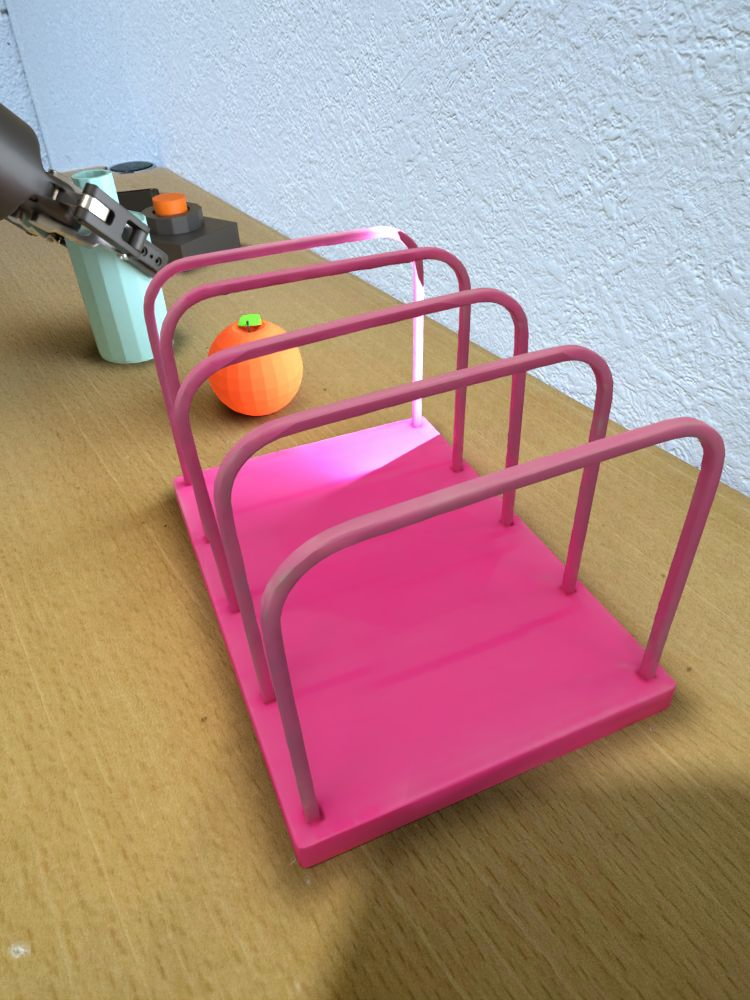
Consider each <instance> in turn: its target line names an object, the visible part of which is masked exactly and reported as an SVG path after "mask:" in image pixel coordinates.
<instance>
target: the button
mask: <svg viewBox="0 0 750 1000" xmlns="http://www.w3.org/2000/svg"><path fill="white" fill-rule="evenodd" d="M159 194H160V195H157V196H155V197H153V198H152V201H153V206H154V210H155V215H160V216H168V215H176V214H181V213H184V212H187V211H188V208H187V203H186V202H187V199H186V195H185V194H184V193H181V192H166V193H159Z"/></svg>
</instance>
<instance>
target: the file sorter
mask: <svg viewBox="0 0 750 1000" xmlns="http://www.w3.org/2000/svg"><path fill="white" fill-rule="evenodd" d="M374 239H391V240H395V241H398V242H400V243H401V244H402V245H403V246H404V247H405V248H404V249H400V250H399V249H398V250H391V251H386V252H381V253H376V254H369V255H363V256H356V257H350V258H344V259H337V260H331V261H325V262H320V263H313V264H308V265H303V266H297V267H290V268H285V269H284V268H283V269H279V270H273V271H267V272H261V273H256V274H251V275H246V276H240V277H235V278H234V277H233V278H228V279H223V280H220V281H218V280H217V281H214V282H209V283H204V284H201V285H199V286H196V287H193V288H192V289H189V290H188V291H187V292H185V293H184V294H182V295H181V296H180V297H179V298H177V300H175V302H174V303H172V305H171V306H170V308H169V309H167V314H166V316H165V318H164V320H163V323H162V327H161V331H160V338H159V333H158V328H157V323H156V318H155V300H156V298H157V296H158V294H159V291H160V289H161V287H163V286H164V285H165V284H166V283H167V282H168V281H169V280H170V279H171V278H173V277H174V276H176V275H178V274H179V273H182V272H183V271H186V270H190V269H192V270H195V269H198V268H204V267H210V266H215V265H221V264H227V263H233V262H239V261H245V260H250V259H251V260H252V259H256V258H263V257H269V256H274V255H278V254H283V253H284V254H285V253H290V252H291V253H292V252H297V251H304V250H308V249H313V248H314V249H315V248H319V247H330V246H336V245H342V244H346V243H356V242H362V241H368V240H374ZM424 260H425V261H426V260H432V261H438V262H442V263H444V264H446V265H447V266H449V268H450V269H451V270H452V271H453V272H454V275H455V277H456V279H457V284H458V291H456V292H452V293H447V294H442V295H437V296H433V297H428V298H425V273H424V272H425V270H424ZM410 263H411V264H412V276H413V278H412V279H413V280H412V282H413V283H412V284H413V285H412V287H413V288H412V290H413V291H412V292H413V293H412V294H413V295H412V296H413V301H411V302H407V303H403V304H398V305H395V306H389V307H386V308H381V309H378V310H373V311H368V312H364V313H359V314H356V315H355V314H354V315H351V316H347V317H343V318H340V319H336V320H332V321H327V322H323V323H319V324H316V325H312V326H311V325H310V326H307V327H304V328H299V329H294V330H291V331H286V333H283V334H279V335H275V336H271V337H267V338H263V339H259V340H255V341H252V342H248V343H244V344H241V345H237V346H233V347H230V348H226V349H224V350H221V351H218V352H216V353H214V354H212V355H210V356H209V357H207V356H206V357H205V358H203V360H201V361H200V362H198V363H197V364H195V366H194V367H193V368H192V369H191V370H190V371H189V373H187V375H186V376H185V377H184V379H183V380H182V382H181V381H180V378H179V371H178V367H177V363H176V358H175V352H174V343H173V342H174V334H175V330H176V327H177V325H178V323H179V321H180V319H181V318H182V317H183V315H184V314H185V313H186V312H187V311H188V310H189V309H191V308H192V307H193V306H195V305H197V304H199V303H200V302H203V301H206V300H208V299H212V298H216V297H220V296H227V295H230V294H236V293H237V294H238V293H241V292H247V291H252V290H258V289H263V288H268V287H269V288H270V287H273V286H280V285H285V284H291V283H296V282H302V281H306V280H307V281H308V280H313V279H319V278H324V277H332V276H333V277H334V276H339V275H344V274H348V273H349V274H350V273H352V272H357V271H367V270H374V269H378V268H383V267H388V266H396V265H402V264H403V265H404V264H410ZM194 268H195V269H194ZM190 271H191V270H190ZM478 303H479V304H482V303H484V304H485V303H490V304H491V303H492V304H497V305H498V306H501V307H503V308H504V309H505V310H506V311H507V312H508V313H509V315H510V317H511V319H512V323H513V332H514V333H513V336H514V337H513V342H514V343H513V352H512V353H513V355H512V356H509V357H506V358H502V359H498V360H494V361H490V362H485V363H482V364H478V365H473V366H470V367H469V357H470V356H469V353H470V337H471V318H472V317H471V316H472V314H471V313H472V305H475V304H478ZM453 309H459V310H458V329H457V350H456V351H457V352H456V369H455V370H454V371H450V372H446V373H442V374H438V375H434V376H430V377H427V378H426V377H425V378H423V355H424V353H423V352H424V316H427V315H431V314H435V313H440V312H444V311H448V310H453ZM143 310H144V318H145V323H146V328H147V332H148V337H149V342H150V346H151V350H152V354H153V358H154V359H153V362H154V366H155V370H156V374H157V378H158V382H159V385H160V386H159V387H160V390H161V394H162V398H163V402H164V406H165V410H166V414H167V418H168V422H169V427H170V430H171V434H172V438H173V442H174V447H175V450H176V454H177V457H178V461H179V462H178V463H179V466H180V469H181V474H182V475H178V476H176V477H173V479H172V485H173V490H174V495H175V498H176V502H177V506H178V508H179V511H180V514H181V516H182V520H183V523H184V525H185V529H186V531H187V535H188V539H189V540H190V544H191V546H192V550H193V553H194V555H195V560H196V562H197V564H198V567H199V569H200V574H201V577H202V580H203V584H204V585H205V588H206V592H207V595H208V597H209V601H210V604H211V606H212V607H211V608H212V609H213V613H214V616H215V619H216V621H217V625H218V627H219V631H220V633H221V637H222V639H223V640H222V641H223V642H224V646H225V650H226V651H227V654H228V658H229V661H230V663H231V666H232V670H233V673H234V675H235V678H236V682H237V685H238V688H239V690H240V693H241V696H242V699H243V702H244V705H245V709H246V711H247V714H248V716H249V720H250V723H251V727H252V729H253V732H254V735H255V738H256V741H257V744H258V747H259V750H260V753H261V756H262V760H263V762H264V766H265V768H266V771H267V774H268V777H269V780H270V782H271V783H270V784H271V786H272V789H273V792H274V794H275V798H276V800H277V803H278V807H279V809H280V812H281V813H280V814H281V815H282V819H283V821H284V824H285V825H284V826H285V828H286V830H287V834H288V836H289V839H290V842H291V846H292V849H293V852H294V855H295V859H296V861H297V863H298V865H299V866H300V867H301V868H304V869H308V868H311V867H314V866H315V865H318V864H320V863H323V862H325V861H327V860H329V859H332V858H334V857H336V856H339V855H341V854H343V853H345V852H348V851H350V850H352V849H354V848H357V847H358V846H361V845H363V844H365V843H368V842H370V841H372V840H375V839H377V838H379V837H382V836H383V835H386V834H388V833H390V832H393V831H395V830H397V829H399V828H402V827H404V826H406V825H409V824H411V823H413V822H415V821H417V820H420V819H422V818H424V817H427V816H428V815H431V814H433V813H436V812H438V811H440V810H442V809H444V808H447V807H449V806H452V805H453V804H455V803H458V802H460V801H462V800H465V799H467V798H469V797H472V796H474V795H476V794H478V793H481V792H483V791H485V790H487V789H489V788H492V787H494V786H496V785H498V784H501V783H503V782H506V781H508V780H510V779H512V778H515V777H517V776H519V775H522V774H524V773H526V772H528V771H530V770H533V769H535V768H538V767H540V766H542V765H545V764H546V763H549V762H551V761H554V760H556V759H559V758H560V757H563V756H565V755H567V754H570V753H572V752H574V751H576V750H578V749H581V748H584V747H585V746H588V745H590V744H593V743H595V742H596V741H599V740H601V739H603V738H605V737H607V736H610V735H612V734H614V733H617V732H618V731H621V730H624V729H625V728H628V727H630V726H632V725H635V724H636V723H639V722H641V721H643V720H645V719H648V718H650V717H652V716H654V715H657V714H659V713H662V712H663V711H666V710H668V709H669V707H670V706H671V703H672V700H673V697H674V695H675V691H676V688H677V683H676V680H675V679H674V678H673V677H672V676H671V675H670V674H669V673H668V672H667V671H666V670H665V669H664V668H663V667H662V666H661V664H659V663H660V662H661V661H660V660H661V658H662V654H663V651H664V648H665V646H666V642H667V640H668V637H669V633H670V631H671V628H672V624H673V622H674V619H675V616H676V613H677V610H678V607H679V604H680V601H681V598H682V596H683V593H684V590H685V587H686V584H687V581H688V577H689V574H690V571H691V568H692V565H693V562H694V560H695V556H696V553H697V551H698V547H699V544H700V541H701V539H702V536H703V533H704V530H705V527H706V524H707V521H708V517H709V515H710V512H711V509H712V506H713V503H714V500H715V497H716V495H717V491H718V487H719V484H720V481H721V478H722V474H723V470H724V466H725V465H724V463H725V458H726V446H725V441H724V439H723V437H722V435H721V434H720V433H719V432H718V431H717V430H716V429H715V428H714V427H713V426H711V425H709V424H708V423H707V422H705V421H703V420H700V419H698V418H695V417H691V416H680V417H674V418H668V419H667V418H666V419H663V420H660V421H659V420H658V421H656V422H653V423H649V424H645V425H643V426H639V427H637V428H632V429H630V430H626V431H623V432H619V433H616V434H613V435H609V436H607V431H608V426H609V421H610V415H611V410H612V405H613V400H614V399H613V398H614V385H615V383H614V378H613V373H612V371H611V369H610V366H609V365H608V363H607V361H606V359H604V358H603V357H602V356H601V355H600V354H598V353H597V352H596V351H594V350H592V349H590V348H588V347H586V346H583V345H578V344H563V345H558V346H552V347H546V348H542V349H538V350H534V351H530V352H529V339H530V333H529V322H528V317H527V315H526V312H525V310H524V309H523V307H522V305H521V304H520V303H519V302H518V300H516V299H515V298H513V297H512V296H511V295H509V294H508V293H507V292H504V291H503V290H499V288H493V287H476V288H472V285H471V279H470V276H469V272H468V270H467V268H466V267H465V265H464V263H463V262H462V261H461V260H460V259H459V258H458V257H457V256H456V255H454V254H453V253H451V252H449V251H448V250H446V249H443V248H440V247H437V246H421V247H419V246H418V244H417V243H416V242H415V240H414V239H413V238H412V237H410V235H408V234H407V233H406V232H404V231H402V230H400V229H398V228H396V227H394V226H393V227H392V226H387V225H379V226H371V227H364V228H363V227H362V228H356V229H355V228H354V229H349V230H343V231H336V232H329V233H323V234H316V235H309V236H304V237H298V238H291V239H285V240H278V241H272V242H266V243H260V244H253V245H248V246H241V248H235V249H229V250H223V251H217V252H211V253H206V254H200V255H195V256H189V257H185V258H181V259H178V260H175V261H173V262H171V263H169V264H167V265H166V266H165V267H163V268H162V269H161V270H160V271H158V272H157V274H156V275H155V276H154V277H153V279H152V280H151V282H150V284H149V285H148V287H147V290H146V292H145V296H144V304H143ZM410 319H413V320H412V381H410V382H407V383H404V384H403V383H402V384H399V385H395V386H391V387H387V388H383V389H380V390H376V391H372V392H369V393H364V394H361V395H356V396H353V397H349V398H346V399H342V400H339V401H335V402H331V403H327V404H323V405H320V406H316V407H312V408H309V409H305V410H301V411H298V412H294V413H291V414H287V415H285V416H281V417H277V418H273V419H271V420H268V421H267V422H263V423H261V424H260V425H258V426H257V427H255V428H253V429H252V430H250V431H249V432H247V433H246V434H244V435H243V436H242V437H241V438H240V439H239V440H238V441H237V442H236V443H235V444H234V445H232V447H231V448H230V449H229V450H228V452H227V453H226V454H225V456H224V457H223V459H222V461H220V464H219V465H218V466H214V467H210V468H206V469H202V465H201V462H200V458H199V455H198V451H197V445H196V443H195V439H194V435H193V431H192V426H191V419H190V411H191V404H192V403H193V399H194V397H195V395H196V394H197V392H198V390H199V389H200V387H201V386H202V385H203V384H204V383H205V382H206V381H207V380H208V378H209V377H210V376H211V375H213V374H214V373H215V372H217V371H218V370H220V369H223V368H225V367H227V366H230V365H233V364H237V363H240V362H243V361H247V360H250V359H254V358H258V357H262V356H266V355H269V354H273V353H277V352H281V351H284V350H288V349H292V348H296V347H298V348H300V347H304V346H306V345H310V344H315V343H319V342H322V341H326V340H330V339H334V338H337V337H338V338H339V337H342V336H346V335H350V334H352V333H353V334H354V333H357V332H361V331H365V330H368V329H373V328H377V327H382V326H385V325H386V326H387V325H392V324H394V323H395V324H396V323H399V322H402V321H407V320H410ZM571 361H574V362H581V363H584V364H586V365H588V366H589V367H590V368H591V371H592V372H593V375H594V377H595V385H596V386H595V387H596V390H595V399H594V406H593V413H592V419H591V423H590V429H589V434H588V435H589V436H588V442H587V443H583V444H580V445H577V446H574V447H573V446H572V447H570V448H568V449H564V450H560V451H558V452H557V451H556V452H554V453H551V454H547V455H544V456H542V457H538V458H535V459H531V460H529V461H526V462H523V463H519V459H520V447H521V437H522V436H521V435H522V425H523V416H524V415H523V414H524V406H525V405H524V404H525V392H526V380H527V372H530V371H532V370H537V369H539V368H543V367H549V366H552V365H553V366H554V365H557V364H560V363H565V362H571ZM510 376H511V386H510V387H511V388H510V389H511V390H510V400H509V401H510V403H509V419H508V420H509V421H508V431H507V444H506V453H505V454H506V455H505V466H504V468H502V469H501V470H500V469H499V470H497V471H493V472H491V473H487V474H484V475H482V476H481V475H480V474H479V473H478V472H477V471H476V470H475V469H474V468H473V467H472V466H471V465H470V464H469V463H468V461H466V459H465V458H464V454H463V453H464V441H465V422H466V407H467V406H466V405H467V391H468V389H467V388H468V387H470V386H474V385H477V384H482V383H486V382H490V381H494V380H497V379H500V378H505V377H510ZM451 391H455V393H454V415H453V430H452V431H453V432H452V445H451V444H450V443H449V442H448V440H447V439H446V438H445V437H444V436H443V435H442V434H441V433H440V432H439V431H438V430H437V429H436V428H435V427H434V426H433V425H432V424H431V423H430V422H429V421H428V419H427V418H426V417H425V416H422V399H425V398H430V397H434V396H437V395H440V394H444V393H447V392H451ZM410 402H411V410H412V411H411V417H410V418H406V419H402V420H397V421H393V422H389V423H385V424H381V425H377V426H373V427H370V428H365V429H361V430H357V431H353V432H349V433H346V434H345V433H344V434H342V435H337V436H333V437H328V438H326V439H322V440H321V439H320V440H317V441H314V442H309V443H306V444H300V445H298V446H293V447H289V448H284V449H281V450H277V451H273V452H269V453H266V454H262V455H261V454H260V455H257V456H254V455H255V454H256V453H257V452H259V451H260V450H261V449H263V448H264V447H266V446H267V445H270V444H272V443H274V442H276V441H278V440H279V439H282V438H286V437H290V436H293V435H295V434H299V433H302V432H306V431H310V430H312V429H316V428H320V427H324V426H327V425H330V424H334V423H338V422H342V421H346V420H349V419H353V418H357V417H360V416H364V415H367V414H371V413H374V412H377V411H381V410H384V409H388V408H393V407H396V406H400V405H404V404H407V403H410ZM606 436H607V437H606ZM684 438H695V439H696V438H697V440H698V442H699V443H700V445H701V448H702V458H701V462H700V471H699V473H698V476H697V479H696V484H695V486H694V490H693V493H692V497H691V499H690V503H689V506H688V509H687V513H686V516H685V519H684V523H683V526H682V529H681V532H680V535H679V538H678V541H677V545H676V548H675V551H674V555H673V557H672V560H671V562H670V566H669V570H668V573H667V576H666V579H665V583H664V586H663V589H662V592H661V595H660V599H659V602H658V605H657V609H656V612H655V614H654V618H653V623H652V626H651V629H650V632H649V633H650V634H649V637H648V640H647V643H646V646H645V648H644V647H643V646H642V645H641V644H640V643H639V642H638V641H637V640H636V639H635V637H634V636H633V635H632V634H631V633H630V632H629V631H628V629H626V628H625V627H624V626H623V625H622V623H620V622H619V620H618V619H617V618H616V617H615V616H614V615H613V614H612V613H611V612H610V611H609V610H608V609H607V608H606V607H605V606H604V605H603V604H602V603H601V602H600V601H599V600H598V599H597V598H596V596H594V595H593V594H592V593H591V591H590V590H589V589H588V588H587V587H586V586H585V585H584V584H583V583H582V582H581V581H580V580H579V579H578V576H579V571H580V567H581V562H582V556H583V551H584V547H585V543H586V537H587V533H588V527H589V522H590V517H591V512H592V508H593V507H592V506H593V502H594V497H595V493H596V486H597V483H598V476H599V473H600V467H601V463H603V462H606V461H609V460H612V459H615V458H618V457H622V456H624V455H625V456H626V455H627V454H631V453H634V452H637V451H640V450H644V449H647V448H649V447H650V448H651V447H653V446H656V445H659V444H663V443H667V442H670V441H673V440H678V439H684ZM581 469H582V474H581V480H580V485H579V488H578V489H579V490H578V496H577V501H576V507H575V512H574V518H573V524H572V529H571V532H570V533H571V534H570V537H569V538H570V539H569V544H568V549H567V556H566V560H565V564H564V563H563V562H562V561H561V560H560V558H558V557H557V556H556V555H555V553H554V552H553V551H552V550H551V549H550V548H549V547H548V546H547V545H546V544H545V543H544V542H543V541H542V540H541V539H540V537H539V536H537V535H536V534H535V533H534V531H532V529H531V528H530V527H529V526H528V525H527V524H526V523H525V522H524V521H523V520H522V518H521V517H519V516H518V514H517V513H516V512H515V511H514V510H515V502H516V492H517V490H519V489H522V488H525V487H529V486H531V485H534V484H538V483H541V482H544V481H547V480H550V479H553V478H556V477H559V476H563V475H566V474H568V473H571V472H575V471H578V470H581ZM500 495H502V498H501V496H500Z"/></svg>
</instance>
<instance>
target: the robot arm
mask: <svg viewBox="0 0 750 1000" xmlns="http://www.w3.org/2000/svg"><path fill="white" fill-rule="evenodd" d="M3 220H5V221H7V222H9V224H12V225H13V226H15V227H17V228H18V229H20V230H22V231H23V232H25V233H26V235H29V236H30V237H31V236H32V237H40V238H42V239H44V240H46V241H47V242H49V243H51V244H56V245H57V244H59V245H61V246H62V247H64V248H66V249H67V246H66V242H65V239H64V237H66V238H68V239H70V240H72V241H74V242H76V243H78V244H80V245H82V246H83V247H85V248H88V249H92V248H94V247H96V246H98V247H100V248H102V249H104V250H106V251H108V252H110V253H112V254H114V255H116V257H117V258H119V259H122V260H125V261H126V262H128V263H129V264H131V265H132V266H134V267H135V268H137V269H138V270H140V271H141V272H143V273H144V274H146V275H147V276H149V277H150V278H153V277H154V276H155V275H156V274H157V272H158V271H160V270H161V269H162V268H163V267H165V266H166V265H167V262H168V256H167V254H166V253H165V252H163V251H162V250H161V249H159V248H158V247H156V246H155V245H154V244H152V243H151V242H150V241H148V240H147V236H148V234H149V231H150V228H149V227H148V226H147V225H146V224H145V223H143V222H142V221H141V220H139V219H138V218H137V217H135V216H134V215H133V214H132V213H130V212H129V211H128V210H127V209H125V208H124V207H123V206H122V205H120V204H119V203H118V202H117V201H115V200H114V199H113V198H111V197H110V196H109V195H108V194H106V193H105V192H104V191H103V190H101V189H100V188H99V187H98V186H97V185H95V184H90V183H86V184H85V186H84V189H81V188H79V187H77V186H76V185H75V184H74V183H73V181H72V179H71V177H68V176H66V175H65V174H63V173H61V172H59V171H57V170H55V169H52V168H48V170H47V171H46V169H45V168H44V165H43V161H42V154H41V145H40V141H39V138H38V135H37V133H36V131H35V130H34V129H33V127H31V125H30V124H28V123H27V122H26V121H25V120H24V119H22V118H21V117H20V116H18V115H17V114H15V112H13V111H12V110H10V109H9V108H8V107H7V106H6V105H4V104H3V103H1V102H0V222H1V221H3ZM81 226H82V227H84V228H88V229H89V232H88V234H87V235H82V234H80V233H78V230H79V229H80V228H81Z"/></svg>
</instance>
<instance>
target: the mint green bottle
mask: <svg viewBox="0 0 750 1000" xmlns="http://www.w3.org/2000/svg"><path fill="white" fill-rule="evenodd" d="M70 179H71V180H72V181H73V183H74V184H75V185H76V186H77V187H79V188H81V189H84V186H85V184H86V183H90V184H95V185H97V186H98V187H99V188H100V189H101V190H103V191H104V192H105V193H106V194H108V195H109V196H110V197H111V198H113V199H114V200H115V201H117V202H118V203H119V200H118V196H117V192H118V191H117V188H116V184H115V181H114V180H115V179H114V177H113V173H112V171H111V170H109V169H105V168H104V169H103V168H102V169H101V168H98V169H97V168H96V169H86V170H82V171H78V172H74V173H73V174H72V175H70ZM128 211H129V212H130V213H132V214H133V215H134V216H135V217H137V218H138V219H139V220H141V221H142V222H143V223H145V224H146V225H147V222H146V217H145V215H143V214H141V213H140V212H135V211H130V210H128ZM88 232H89V229H88V228H84V227H82V226H81V228H80V229H79V230H78V233H80V234H82V235H87V234H88ZM64 239H65V242H66V246H67V248H66V250H67V253H68V255H69V258H70V262H71V265H72V269H73V272H74V275H75V278H76V281H77V285H78V288H79V291H80V294H81V297H82V301H83V304H84V308H85V311H86V315H87V317H88V321H89V325H90V328H91V330H92V334H93V337H94V341H95V343H96V348H97V350H98V353H99V355H100V357H101V358H102V359H103V360H105V361H106V362H110V363H113V364H125V365H126V364H137V363H143V362H147V361H150V360H154V358H153V354H152V350H151V346H150V342H149V337H148V332H147V328H146V323H145V318H144V310H143V304H144V296H145V292H146V290H147V287H148V285H149V284H150V282H151V280H152V279H153V278H150V277H149V276H147V275H146V274H144V273H143V272H141V271H140V270H138V269H137V268H135V267H134V266H132V265H131V264H129V263H128V262H126V261H125V260H122V259H119V258H117V257H116V255H114V254H112V253H110V252H108V251H106V250H104V249H102V248H100V247H98V246H96V247H94V248H92V249H88V248H85V247H83V246H82V245H80V244H78V243H76V242H74V241H72V240H70V239H68V238H66V237H64ZM147 240H148V241H150V242H151V239H150V235H149V234H148V236H147ZM162 287H163V286H162ZM162 287H161V289H160V291H159V294H158V296H157V298H156V300H155V318H156V323H157V328H158V333H159V338H160V331H161V327H162V323H163V320H164V318H165V316H166V314H167V312H168V309H167V305H166V301H165V295H164V292H163V288H162ZM174 342H175V341H173V344H174Z"/></svg>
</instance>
